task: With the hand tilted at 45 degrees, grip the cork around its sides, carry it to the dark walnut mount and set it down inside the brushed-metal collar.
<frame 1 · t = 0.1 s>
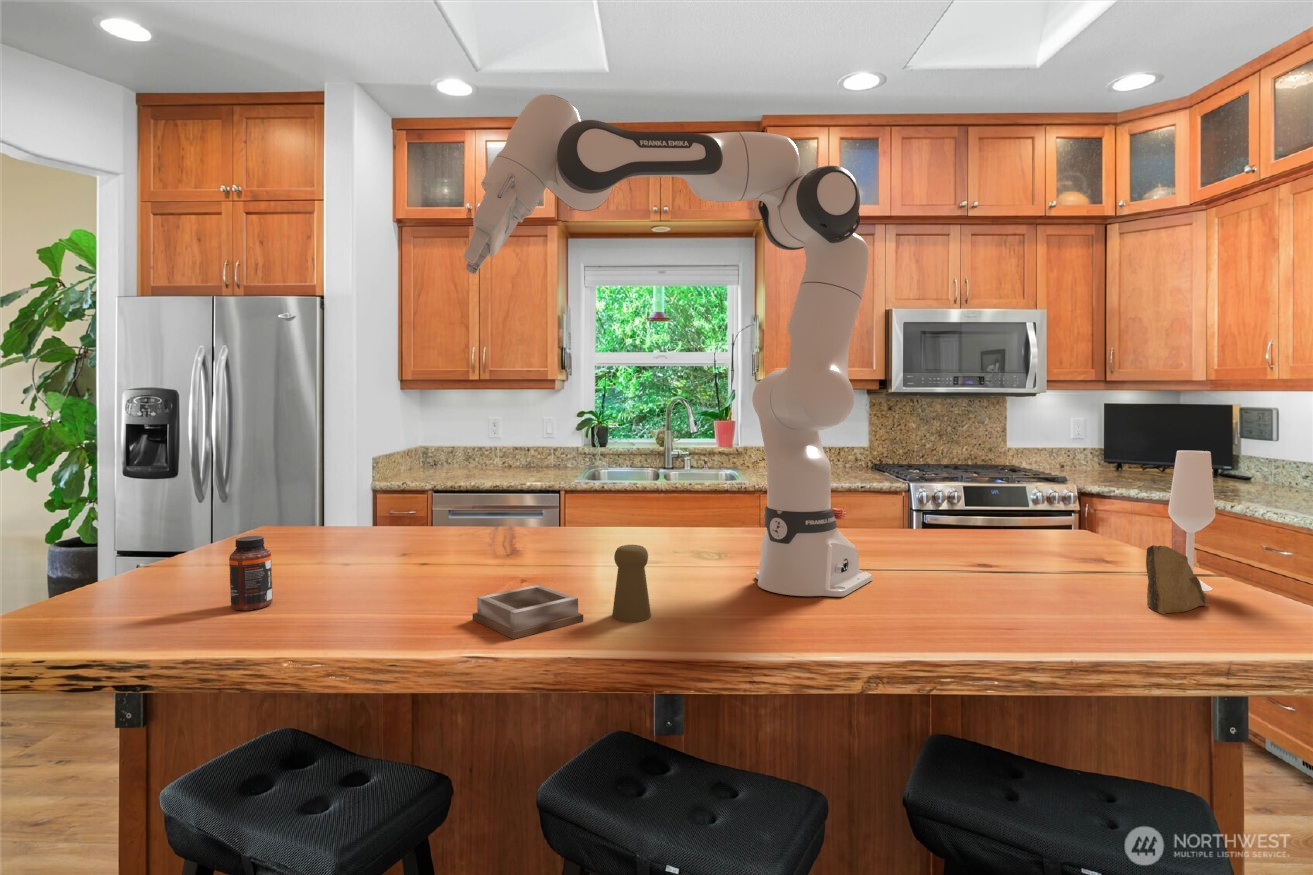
hand: (469, 266, 110), 54 cm above the worktop, tool tilted 30°, fingers open, 8 cm apart
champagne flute: (1188, 587, 126), on the worktop
socket mount: (527, 620, 107), on the worktop
cork: (631, 617, 109), on the worktop
supplement bottle: (252, 607, 115), on the worktop
rock: (1179, 609, 113), on the worktop
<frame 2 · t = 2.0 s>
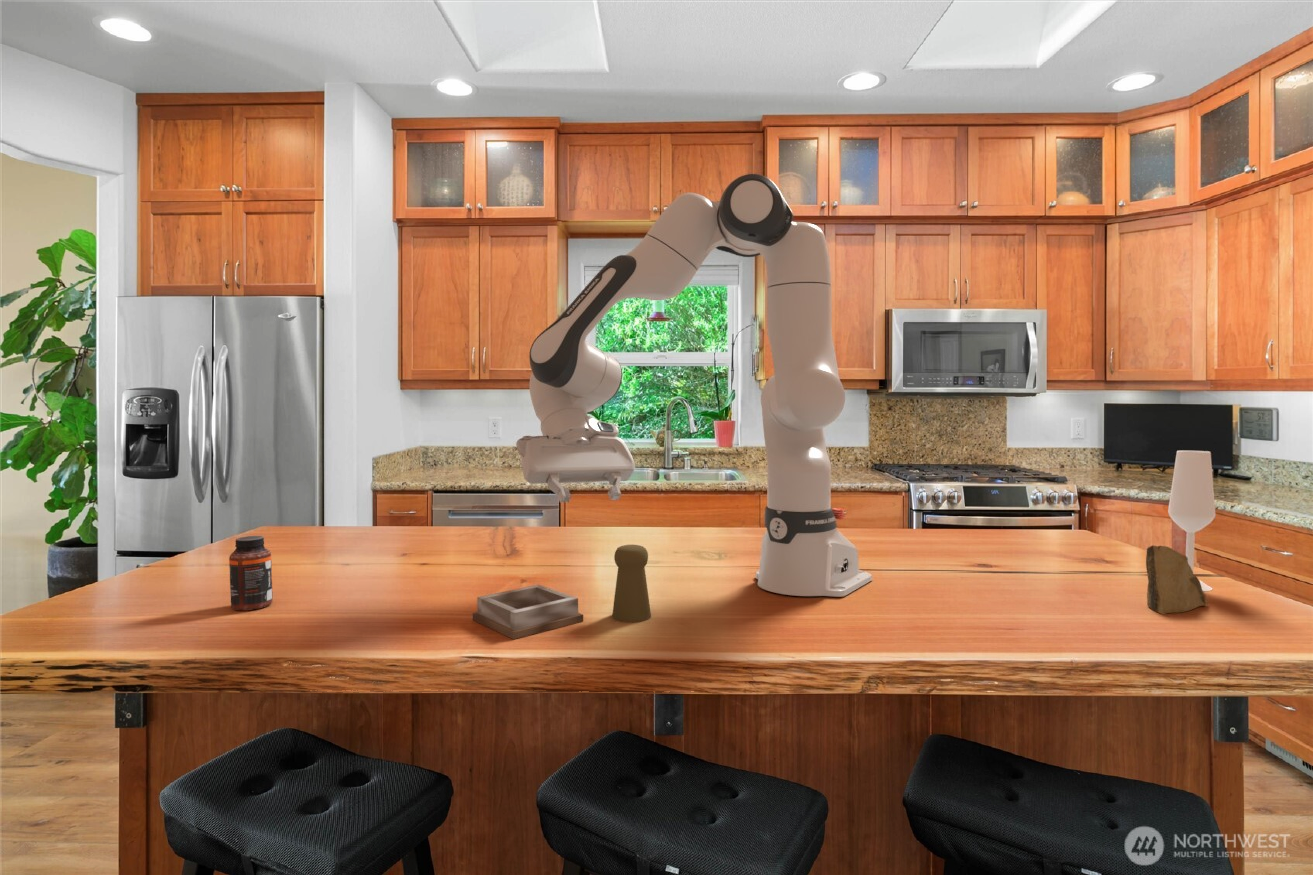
hand: (591, 499, 119), 17 cm above the worktop, tool tilted 45°, fingers open, 8 cm apart
nothing on the worktop moved.
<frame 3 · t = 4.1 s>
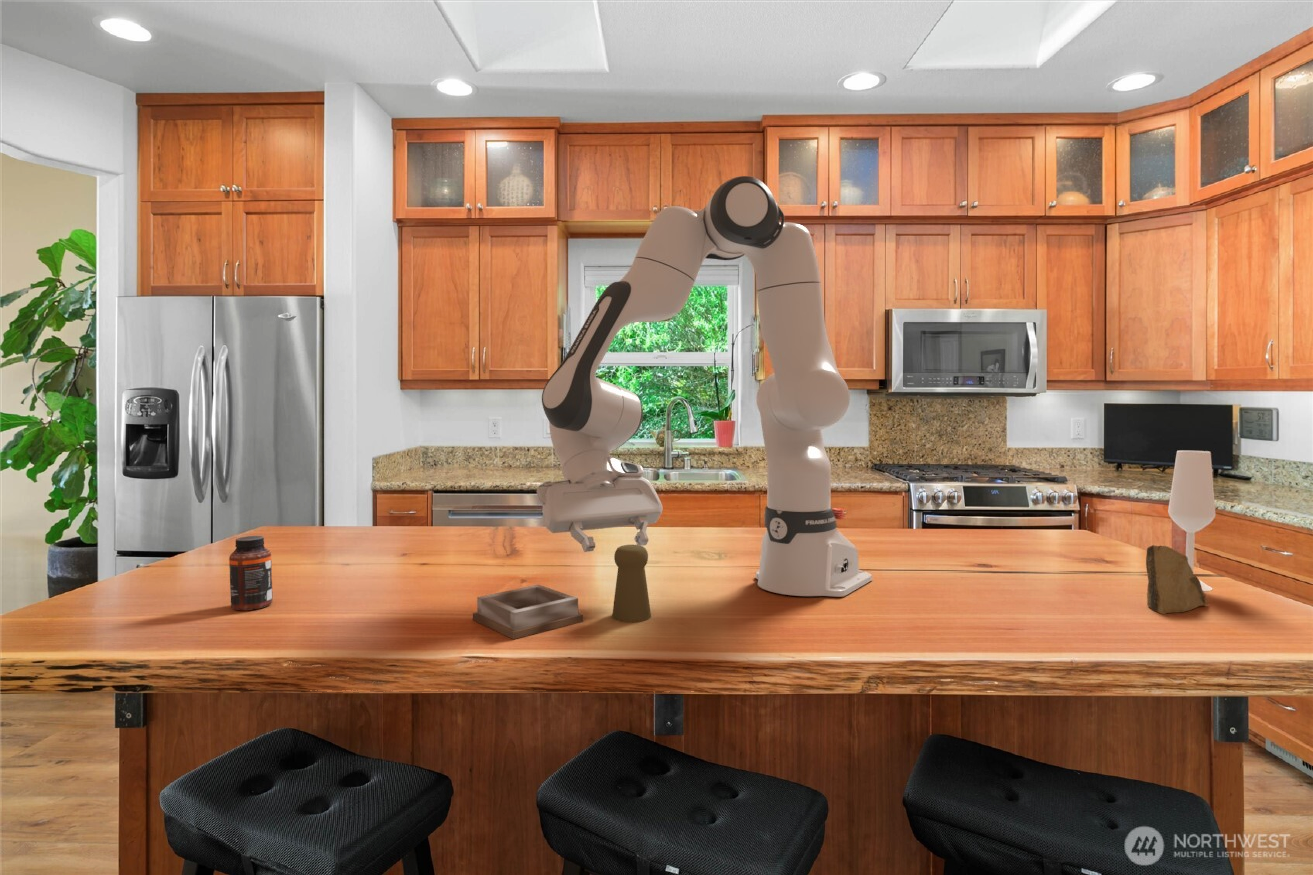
hand: (617, 546, 113), 10 cm above the worktop, tool tilted 45°, fingers open, 8 cm apart
nothing on the worktop moved.
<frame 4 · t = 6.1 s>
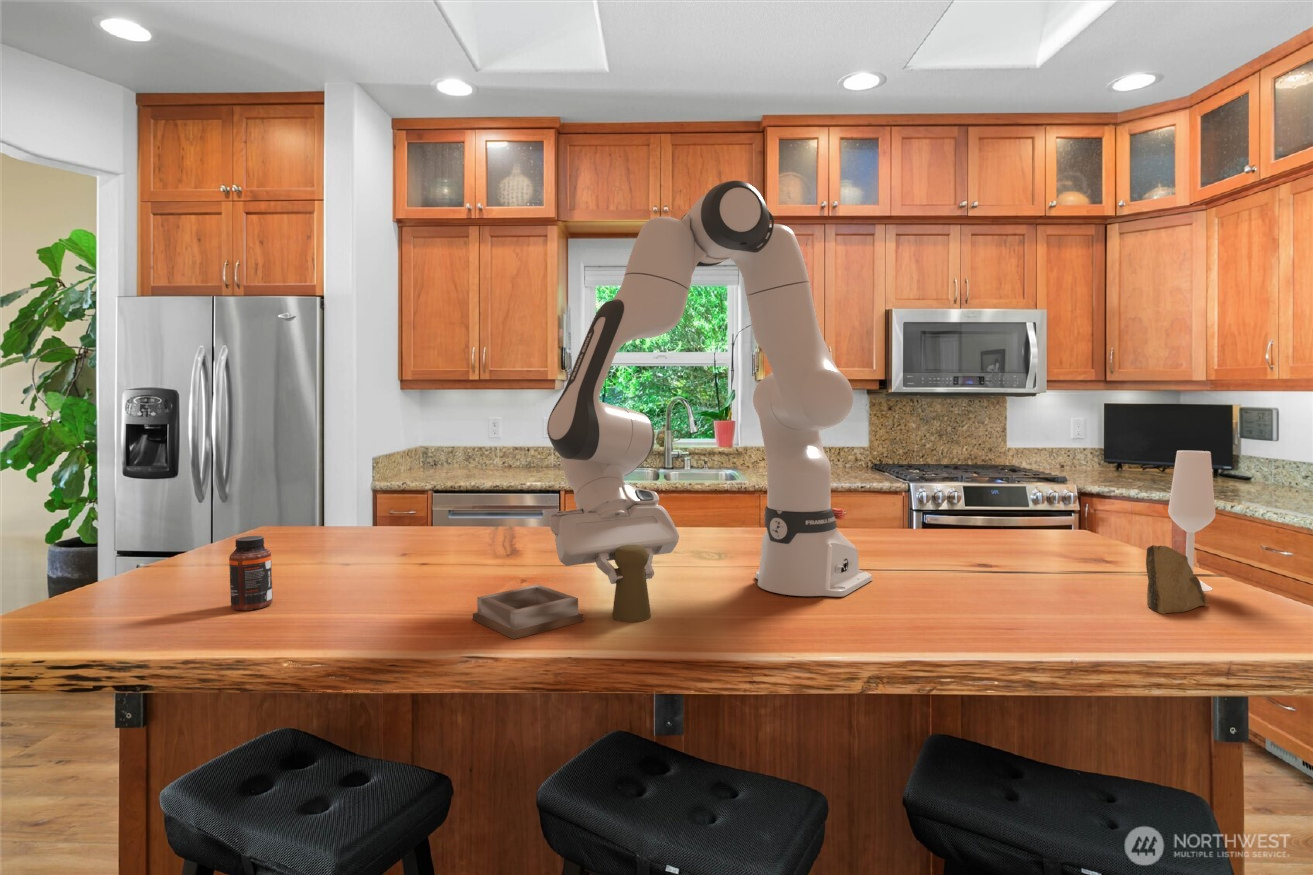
hand: (633, 579, 108), 6 cm above the worktop, tool tilted 45°, fingers closed on cork, 4 cm apart
cork: (631, 617, 109), on the worktop, touching gripper
everything else where it was.
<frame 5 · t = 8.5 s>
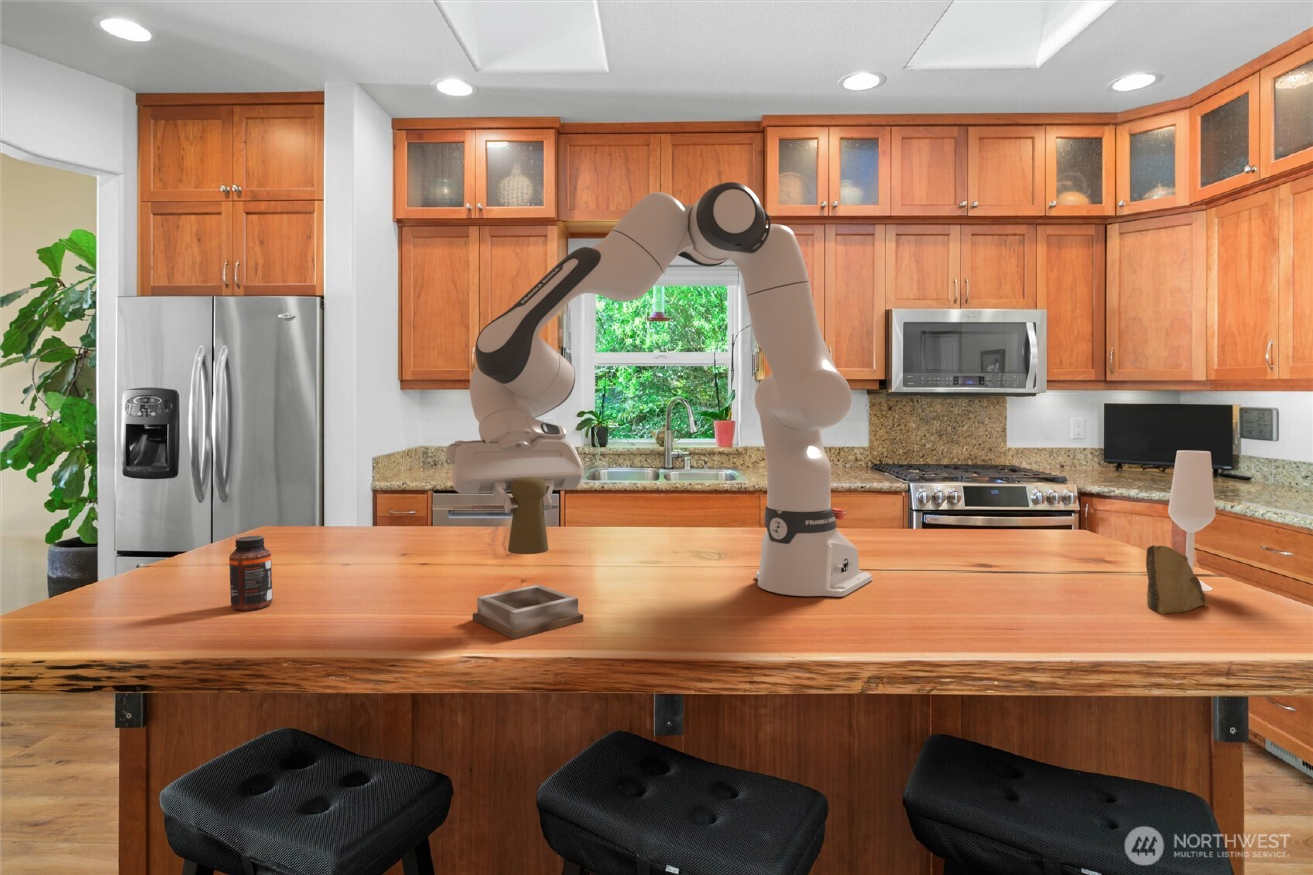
hand: (529, 509, 106), 17 cm above the worktop, tool tilted 45°, fingers closed on cork, 4 cm apart
cork: (528, 551, 107), point 11 cm above the worktop, touching gripper
everything else where it was.
when the fingers open (8 cm above the worktop, at t = 10.9 s): cork moves 1 cm, resting on socket mount.
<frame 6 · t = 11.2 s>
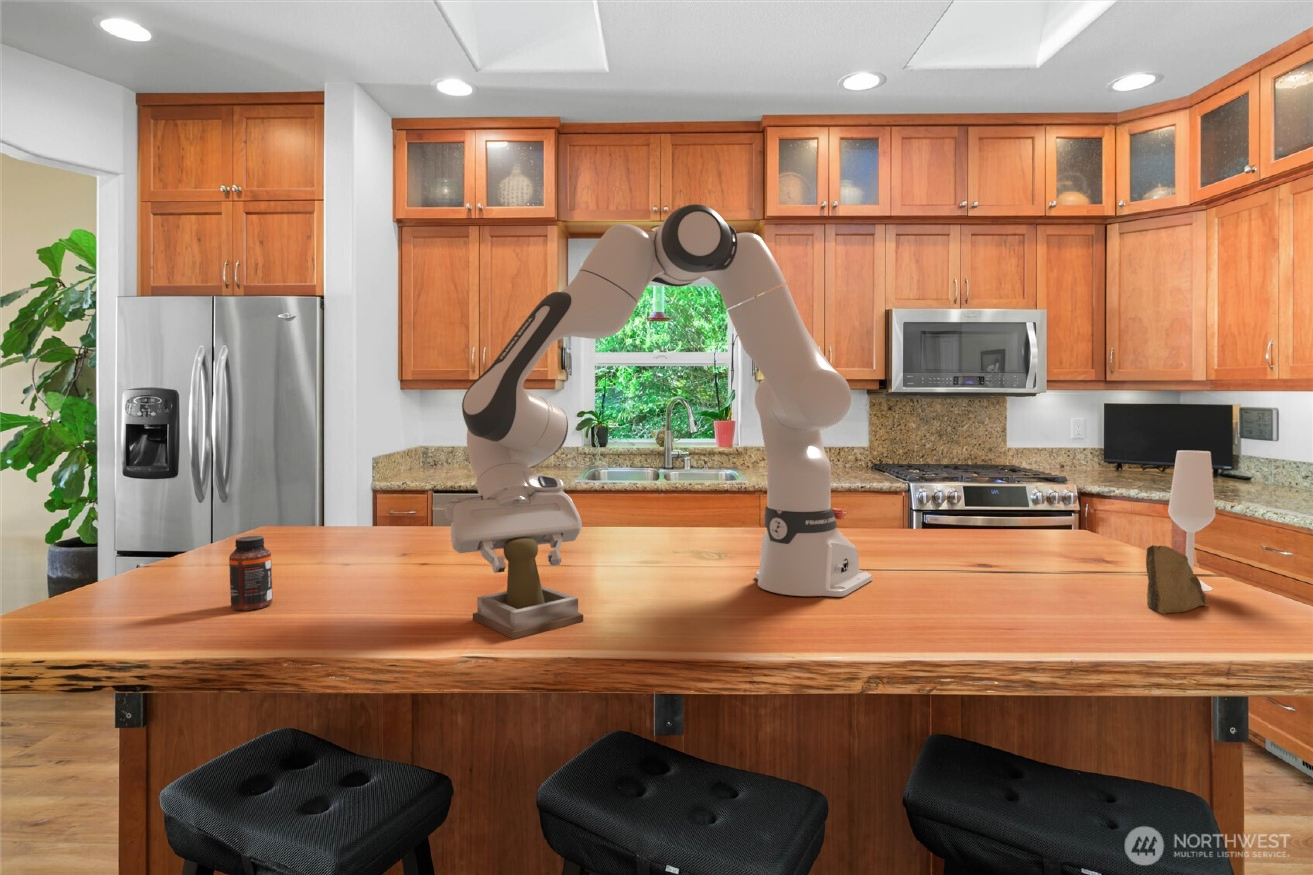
hand: (528, 566, 106), 8 cm above the worktop, tool tilted 45°, fingers open, 7 cm apart
cork: (526, 611, 108), point 1 cm above the worktop, touching socket mount
everything else where it was.
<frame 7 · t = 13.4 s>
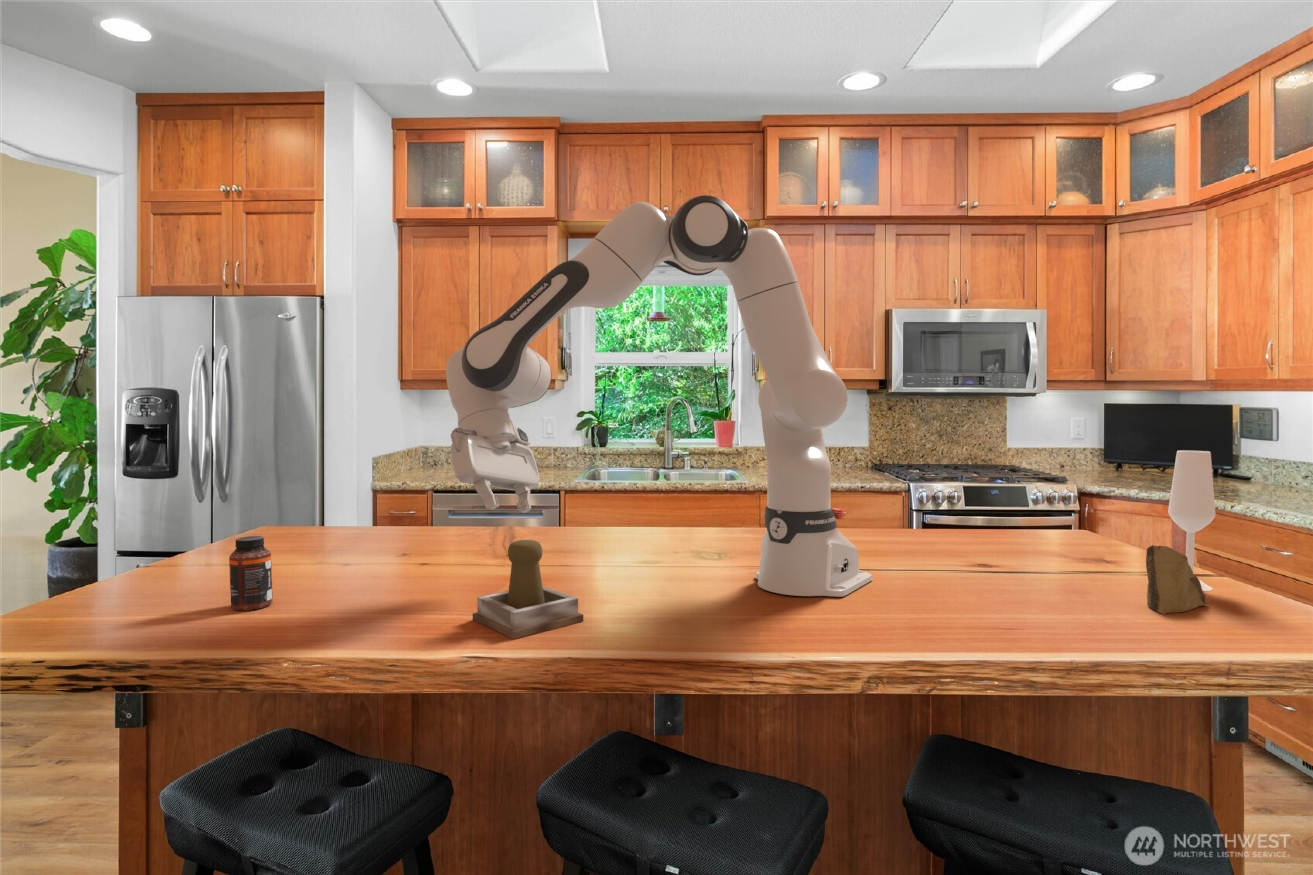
hand: (509, 509, 118), 15 cm above the worktop, tool tilted 30°, fingers open, 8 cm apart
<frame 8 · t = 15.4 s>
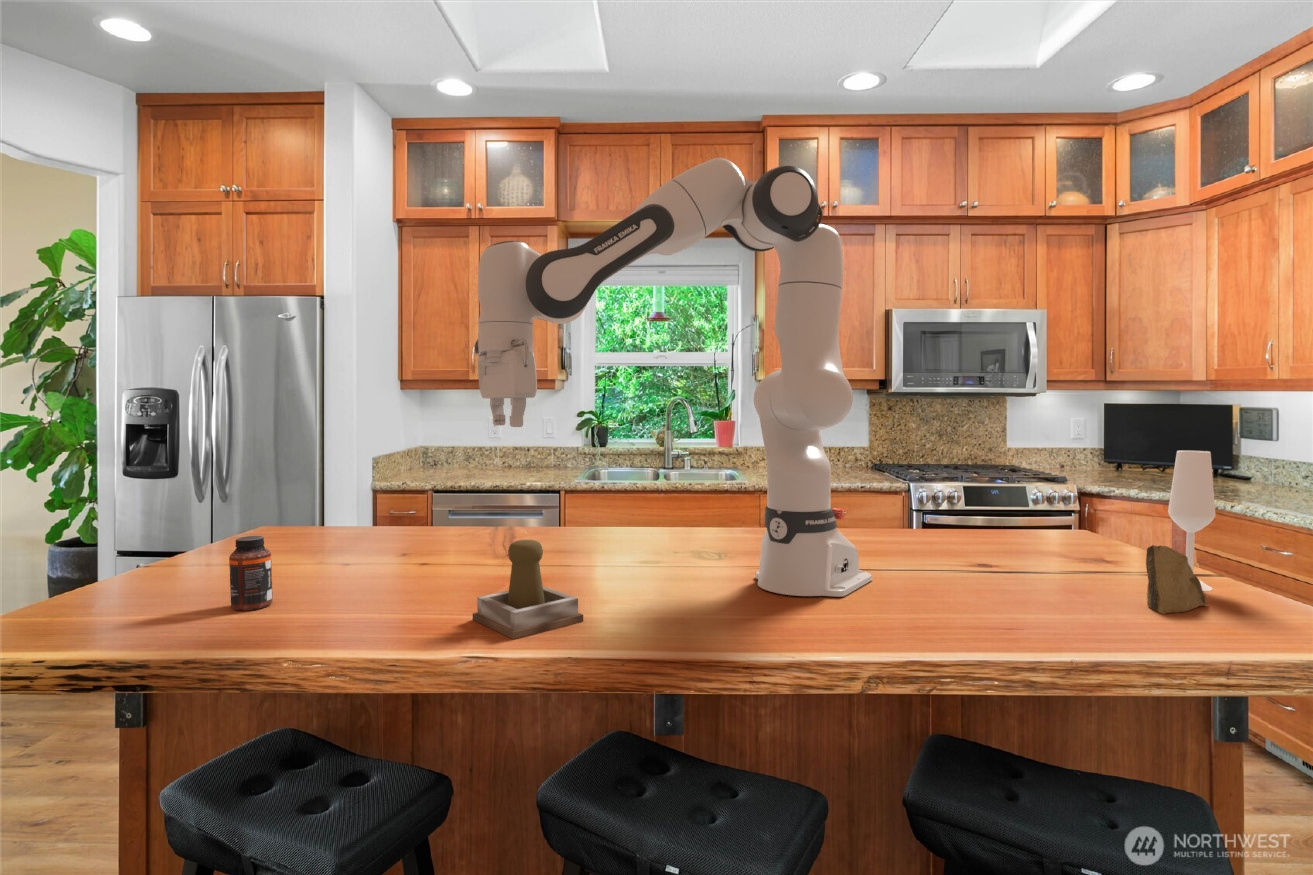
hand: (507, 426, 117), 29 cm above the worktop, tool pointing down, fingers open, 8 cm apart
nothing on the worktop moved.
at the end: cork 1.1 cm off-centre on the socket mount, point 0.8 cm above the socket mount's base; cork tilted 0°; the gripper is holding nothing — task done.
